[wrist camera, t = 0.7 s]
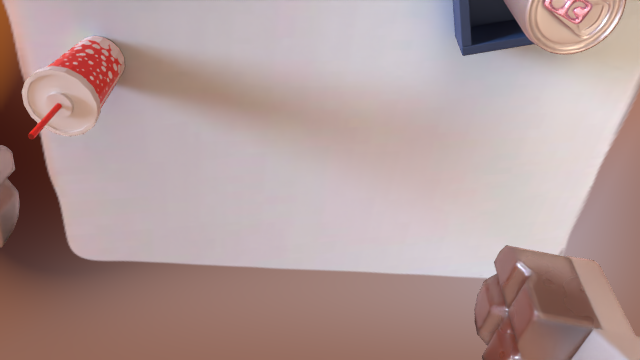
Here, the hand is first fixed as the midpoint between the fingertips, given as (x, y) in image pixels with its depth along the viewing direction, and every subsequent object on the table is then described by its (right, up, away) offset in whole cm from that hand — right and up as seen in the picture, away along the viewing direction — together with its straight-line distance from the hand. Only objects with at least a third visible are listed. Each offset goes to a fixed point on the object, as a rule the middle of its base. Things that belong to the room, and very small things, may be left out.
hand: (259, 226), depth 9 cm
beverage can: (+17, +20, +36) cm, 44 cm away
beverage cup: (-20, +12, +44) cm, 50 cm away
